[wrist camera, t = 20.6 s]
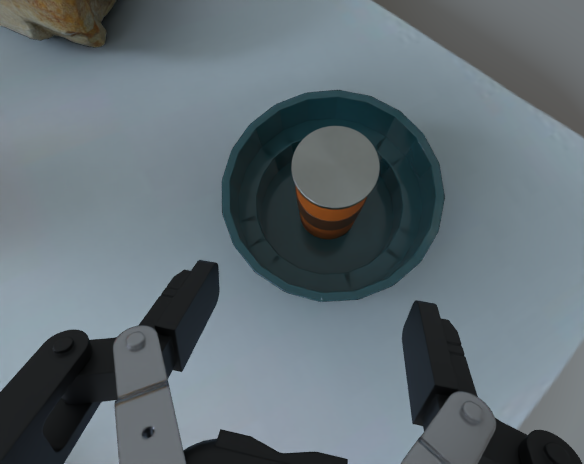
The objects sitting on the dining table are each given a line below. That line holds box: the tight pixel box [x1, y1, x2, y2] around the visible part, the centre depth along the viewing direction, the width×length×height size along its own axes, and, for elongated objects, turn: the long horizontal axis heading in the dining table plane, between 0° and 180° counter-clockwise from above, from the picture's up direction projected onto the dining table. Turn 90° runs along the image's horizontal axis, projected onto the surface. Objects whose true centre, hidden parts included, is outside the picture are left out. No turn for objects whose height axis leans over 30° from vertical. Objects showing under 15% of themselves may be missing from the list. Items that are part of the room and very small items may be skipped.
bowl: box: [222, 90, 445, 302], centre depth 26 cm, size 15×15×6 cm
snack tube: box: [291, 126, 380, 239], centre depth 24 cm, size 5×5×10 cm
